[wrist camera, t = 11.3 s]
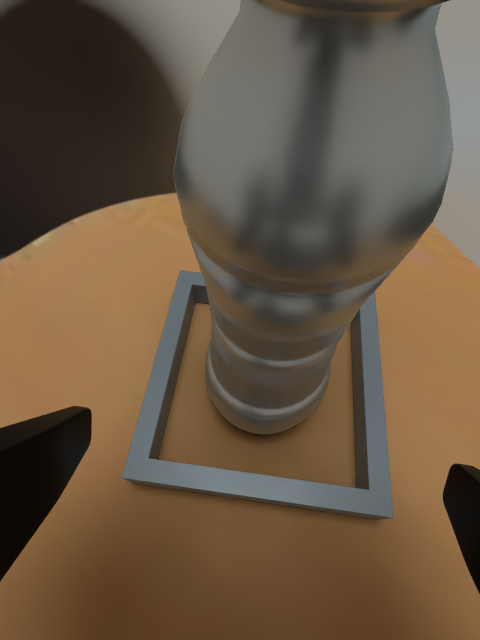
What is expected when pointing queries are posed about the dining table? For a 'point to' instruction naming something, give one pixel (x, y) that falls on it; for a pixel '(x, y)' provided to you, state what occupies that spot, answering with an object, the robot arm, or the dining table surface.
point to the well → (361, 501)
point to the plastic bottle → (307, 186)
